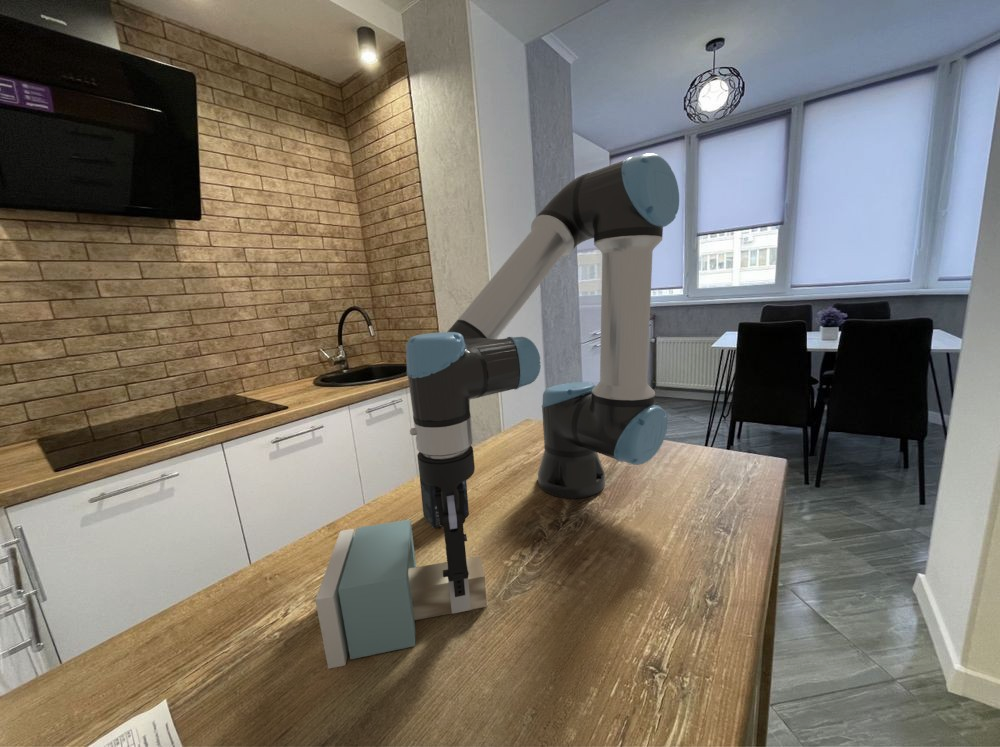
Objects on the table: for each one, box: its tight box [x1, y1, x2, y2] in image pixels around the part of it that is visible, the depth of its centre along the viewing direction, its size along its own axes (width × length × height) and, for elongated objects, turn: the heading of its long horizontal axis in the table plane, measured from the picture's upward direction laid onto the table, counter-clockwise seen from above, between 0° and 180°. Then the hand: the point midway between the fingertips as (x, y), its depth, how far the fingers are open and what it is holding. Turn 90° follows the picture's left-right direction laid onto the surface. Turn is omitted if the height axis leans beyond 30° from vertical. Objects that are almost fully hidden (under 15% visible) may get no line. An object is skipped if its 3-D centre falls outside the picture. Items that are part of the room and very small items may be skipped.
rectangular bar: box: [408, 556, 487, 621], centre depth 57 cm, size 16×4×5 cm, turn 100°
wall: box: [314, 528, 356, 670], centre depth 54 cm, size 2×14×10 cm, turn 10°
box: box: [419, 477, 470, 530], centre depth 79 cm, size 8×6×11 cm
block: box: [338, 518, 417, 660], centre depth 55 cm, size 8×13×10 cm, turn 10°
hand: (459, 596), depth 58 cm, fingers closed on rectangular bar, 4 cm apart
